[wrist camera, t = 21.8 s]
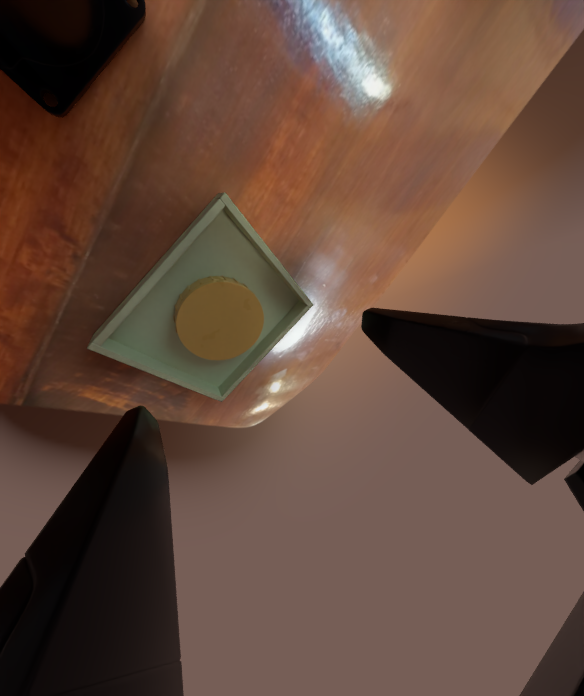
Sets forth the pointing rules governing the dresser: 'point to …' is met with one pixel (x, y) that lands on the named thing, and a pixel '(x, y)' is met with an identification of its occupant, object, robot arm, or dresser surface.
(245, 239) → the tray
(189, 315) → the lid
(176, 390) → the dresser surface
